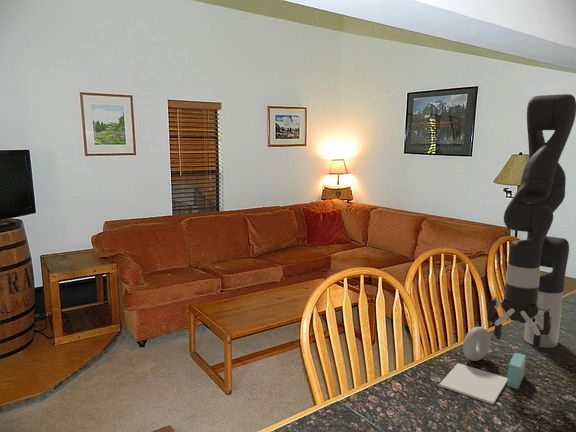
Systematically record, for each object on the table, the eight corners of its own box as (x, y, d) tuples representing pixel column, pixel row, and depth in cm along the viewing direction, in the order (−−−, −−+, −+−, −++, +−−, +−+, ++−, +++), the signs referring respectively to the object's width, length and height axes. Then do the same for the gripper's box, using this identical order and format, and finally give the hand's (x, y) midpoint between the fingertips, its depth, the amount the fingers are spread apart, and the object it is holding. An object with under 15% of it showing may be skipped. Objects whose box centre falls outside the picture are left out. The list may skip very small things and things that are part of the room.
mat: (457, 365, 126) (457, 363, 126) (508, 380, 118) (508, 378, 118) (439, 386, 115) (439, 384, 115) (493, 404, 107) (493, 402, 107)
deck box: (513, 373, 122) (514, 352, 121) (524, 376, 120) (526, 355, 119) (506, 386, 115) (508, 364, 114) (518, 389, 114) (520, 367, 113)
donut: (469, 367, 125) (472, 333, 123) (459, 362, 128) (461, 328, 126) (491, 358, 130) (494, 325, 128) (481, 353, 133) (483, 321, 131)
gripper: (557, 284, 112) (550, 346, 115) (495, 273, 121) (491, 331, 123) (551, 291, 106) (544, 356, 109) (487, 280, 115) (483, 340, 118)
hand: (516, 343), depth 116 cm, fingers open, 8 cm apart
